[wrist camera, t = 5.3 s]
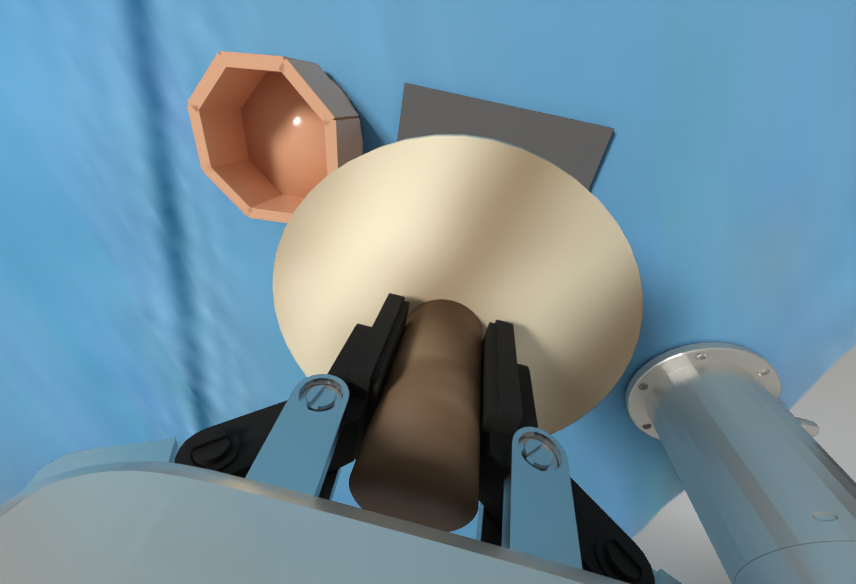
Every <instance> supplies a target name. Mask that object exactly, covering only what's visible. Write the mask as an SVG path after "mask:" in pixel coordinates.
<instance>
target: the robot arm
mask: <svg viewBox="0 0 856 584" xmlns="http://www.w3.org/2000/svg"><path fill="white" fill-rule="evenodd" d="M404 300H405V297H404V296H400V295H396V294H392V293H389V294H388V296H387V298H386V300H385V302H384V304H383V306H382V308H381V310H380V312H379V314H378V316H377V318H376V320H375V322H374V324H373V326H372V327H371V326H367V325H363V324H359V323H358V324H356V326H355V327H354V329H353V331H352V332H351V334H350V336H349V338H348V339H347V341H346V343H345V344H344V346H343V348H342V350H341V351H340V353H339V355H338V356H337V358H336V360H335V362H334V363H333V365H332V367H331V368H330V370H329V372H328V374H317V375H312V376H310V377H307V378H305V379H303V380H302V381H300V382H299V383H298V384H297V386H296V387H295V388H294V390H293V391H292V393H291V395H290V397H289V399H288V400H287V401H284V402H281V403H278V404H275V405H273V406H270V407H267V408H264V409H261V410H258V411H255V412H252V413H249V414H247V415H244V416H241V417H238V418H235V419H232V420H229V421H226V422H223V423H221V424H218V425H215V426H212V427H209V428H206V429H204V430H202V431H200V432H198V433H196V434H194V435H193V436H192V437H190V438H189V439H187V440H186V441H183V442H177V441H176V438H171V439H164V440H156V441H149V442H141V443H134V444H126V445H119V446H111V447H104V448H96V449H88V450H81V451H77V452H73V453H69V454H66V455H64V456H62V457H60V458H58V459H55V460H53V461H51V462H50V463H49V464H47V465H46V466H45V467H43V468H42V469H41V470H39V471H38V472H37V473H36V474H35V476H34V477H33V478H32V479H31V480H30V481H29V483H28V484H27V486H26V488H25V489H24V491H22V492H20V493H19V494H17V495H15V496H14V497H12V498H11V499H9V500H8V501H6V502H5V503H3V504H2V505H0V584H682V583H680V582H679V581H678V580H676V579H675V578H673V577H672V576H671V575H669V574H668V573H666V572H665V571H664V570H662V569H660V570H659V571H655V570H654V569H652V568H651V565H650V563H649V562H648V560H647V558H646V557H645V555H644V553H643V552H642V551H641V549H640V548H639V547H638V546H637V545H636V543H635V542H634V541H633V540H632V539H631V538H630V537H629V536H628V535H627V534H626V533H625V532H624V531H623V530H622V529H621V528H620V527H619V526H618V525H617V524H616V523H615V522H614V521H613V520H612V519H611V518H610V517H609V516H608V515H607V514H606V513H605V512H604V511H603V510H602V509H601V508H600V507H599V506H598V505H597V504H596V503H595V502H594V501H593V500H592V499H591V498H590V497H589V496H588V495H587V494H586V493H585V492H584V491H583V490H582V489H581V488H580V487H579V485H578V484H577V483H576V482H575V481H574V480H573V479H572V478H571V477H570V473H569V465H568V459H567V456H566V452H565V450H564V449H563V447H562V445H561V444H560V443H559V442H558V441H557V440H556V439H555V438H554V437H553V436H552V435H550V434H549V433H547V432H546V431H544V430H541V429H539V428H538V422H537V416H536V409H535V402H534V396H533V389H532V382H531V376H530V370H529V367H528V366H526V365H522V364H518V363H517V355H516V345H515V336H514V327H513V323H509V322H505V321H501V320H496V321H495V323H492V322H489V324H488V327H487V330H486V333H485V336H484V339H483V341H482V374H481V411H480V465H479V501H480V502H481V503H480V507H479V515H478V525H477V535H476V540H475V539H471V538H468V537H464V536H460V535H457V534H453V533H449V532H446V531H442V530H438V529H435V528H431V527H427V526H424V525H420V524H416V523H413V522H409V521H405V520H401V519H398V518H394V517H390V516H387V515H383V514H379V513H376V512H372V511H368V510H364V509H361V508H357V507H353V506H349V505H346V504H342V503H338V502H334V501H332V498H333V494H334V491H335V488H336V485H337V481H338V478H339V475H340V472H341V467H342V466H344V465H346V464H348V463H350V462H352V461H354V459H357V456H358V453H359V450H360V448H361V445H362V442H363V440H364V437H365V434H366V431H367V429H368V426H369V423H370V420H371V418H372V415H373V413H374V411H375V408H376V405H377V402H378V400H379V397H380V394H381V391H382V389H383V386H384V383H385V380H386V378H387V375H388V372H389V369H390V367H391V364H392V361H393V358H394V356H395V353H396V350H397V348H398V345H399V342H400V339H401V337H402V334H403V331H404V328H405V325H406V320H407V315H408V310H409V304H410V302H407V301H404ZM780 393H781V382H780V377H779V376H778V374H777V372H776V370H775V369H774V368H773V367H772V366H771V365H770V364H769V363H768V362H767V361H766V360H765V359H764V358H763V357H762V356H760V355H759V354H758V353H756V352H755V351H752V350H750V349H748V348H746V347H743V346H739V345H735V344H731V343H721V342H706V343H696V344H690V345H685V346H681V347H678V348H675V349H672V350H669V351H667V352H665V353H663V354H661V355H659V356H657V357H655V358H653V359H652V360H650V361H649V362H647V363H646V364H645V365H644V366H643V367H641V368H640V369H639V370H638V371H637V372H636V374H635V375H634V376H633V378H632V379H631V380H630V382H629V385H628V387H627V389H626V395H625V402H626V407H627V410H628V412H629V415H630V417H631V419H632V420H633V422H634V424H635V425H636V426H637V427H638V428H639V429H640V430H642V431H643V432H645V433H646V434H648V435H649V436H651V437H654V438H656V439H659V440H661V442H662V444H663V446H664V448H665V450H666V452H667V454H668V456H669V458H670V460H671V462H672V464H673V466H674V468H675V470H676V473H677V475H678V477H679V479H680V481H681V483H682V485H683V487H684V489H685V491H686V492H687V495H688V497H689V499H690V501H691V503H692V505H693V507H694V509H695V511H696V513H697V515H698V517H699V519H700V521H701V523H702V524H703V527H704V528H705V531H706V533H707V535H708V537H709V539H710V541H711V543H712V545H713V547H714V549H715V551H716V553H717V555H718V557H719V559H720V561H721V563H722V565H723V567H724V569H725V571H726V573H727V575H728V577H729V579H730V581H731V583H732V584H856V483H855V482H854V481H853V480H852V479H851V478H850V477H849V475H848V474H847V473H846V472H845V471H844V470H843V469H842V468H841V467H840V466H839V465H838V464H837V463H836V462H835V461H834V460H833V459H832V458H831V456H830V455H828V454H827V452H826V451H825V450H824V449H823V448H822V447H821V446H820V445H819V444H818V443H817V442H816V441H815V440H814V439H813V438H812V437H814V436H816V435H817V434H818V433H819V427H818V425H817V424H816V423H814V422H813V421H810V420H806V419H801V418H796V417H794V415H793V414H792V413H790V411H789V410H788V409H787V408H786V407H785V406H784V405H783V404H782V403H781V402H780V401H779V398H780Z"/></svg>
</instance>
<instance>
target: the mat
mask: <svg viewBox="0 0 856 584" xmlns="http://www.w3.org/2000/svg"><path fill="white" fill-rule="evenodd" d="M613 130H614V128H610V127H605V126H600V125H596V124H591V123H587V122H582V121H577V120H573V119H568V118H564V117H559V116H555V115H550V114H545V113H541V112H536V111H532V110H527V109H522V108H518V107H513V106H509V105H504V104H499V103H495V102H490V101H486V100H481V99H477V98H472V97H467V96H463V95H458V94H454V93H449V92H444V91H440V90H435V89H431V88H426V87H421V86H417V85H412V84H408V83H405V85H404V93H403V101H402V108H401V116H400V123H399V131H398V139H397V141H400V140H404V139H407V138H413V137H420V136H427V135H434V134H466V135H473V136H480V137H486V138H493V139H497V140H500V141H503V142H507V143H510V144H513V145H517V146H520V147H523V148H525V149H527V150H529V151H531V152H533V153H536V154H538V155H540V156H542V157H544V158H546V159H548V160H550V161H551V162H553V163H554V164H556V165H557V166H559V167H560V168H562V169H563V170H565V171H566V172H568V173H569V174H571V175H572V176H573V177H574V178H575V179H576V180H577V181H578V182H580V183H581V184H582V185H583V186H584V187H585V188H586V189H587V190H589V187H590V185H591V183H592V180H593V178H594V175H595V173H596V171H597V168H598V166H599V163H600V161H601V159H602V156H603V154H604V152H605V149H606V147H607V144H608V142H609V140H610V137H611V135H612V132H613Z"/></svg>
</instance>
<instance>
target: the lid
mask: <svg viewBox="0 0 856 584" xmlns="http://www.w3.org/2000/svg"><path fill="white" fill-rule="evenodd" d="M389 293H392V294H396V295H400V296H404V297H405V300H404V301H407V302H410V304H409V310H408V315H407V320H406V325H405V328H404V331H403V334H402V337H401V339H400V342H399V345H398V348H397V350H396V353H395V356H394V358H393V361H392V364H391V367H390V369H389V372H388V375H387V378H386V380H385V383H384V386H383V389H382V391H381V394H380V397H379V400H378V402H377V405H376V408H375V411H374V413H373V415H372V418H371V420H370V423H369V426H368V429H367V431H366V434H365V437H364V440H363V442H362V445H361V448H360V450H359V453H358V456H357V459H356V461H355V464H354V467H353V470H352V472H351V475H350V479H349V487H350V491H351V494H352V496H353V498H354V499H355V501H356V502H357V503H358V505H359V506H360V507H361V508H362V509H364V510H368V511H372V512H376V513H379V514H383V515H387V516H390V517H394V518H398V519H401V520H405V521H409V522H413V523H416V524H420V525H424V526H427V527H431V528H435V529H438V530H442V531H446V532H450V531H454V530H457V529H460V528H462V527H464V526H465V525H467V524H468V523H470V522H471V521H472V520H473V519H474V517H475V515H476V514H477V511H478V504H479V465H480V411H481V374H482V341H483V339H484V336H485V333H486V330H487V327H488V324H489V322H492V323H495V321H496V320H501V321H505V322H509V323H513V327H514V336H515V345H516V355H517V363H518V364H522V365H526V366H528V367H529V370H530V376H531V382H532V389H533V396H534V402H535V409H536V416H537V422H538V428H539V429H541V430H544V431H546V432H547V433H549V434H550V435H551V434H553V433H555V432H557V431H560V430H562V429H564V428H565V427H567V426H569V425H570V424H572V423H574V422H575V421H577V420H579V419H580V418H582V417H583V416H584V415H585V414H587V413H588V412H589V411H591V410H592V409H593V408H594V407H596V406H597V405H598V404H599V403H600V402H601V401H602V400H603V399H604V398H605V397H606V396H607V395H608V394H609V393H610V391H611V390H612V389H613V387H614V386H615V385H616V383H617V382H618V381H619V379H620V378H621V377H622V375H623V373H624V371H625V370H626V368H627V366H628V364H629V362H630V360H631V359H632V356H633V353H634V350H635V348H636V345H637V342H638V339H639V334H640V329H641V323H642V318H643V292H642V286H641V280H640V274H639V269H638V266H637V263H636V261H635V258H634V255H633V252H632V249H631V247H630V245H629V243H628V241H627V239H626V238H625V236H624V234H623V232H622V230H621V229H620V227H619V225H618V223H617V222H616V221H615V219H614V218H613V217H612V216H611V214H610V213H609V212H608V211H607V209H606V208H605V207H604V206H603V204H602V203H601V202H600V201H599V200H598V199H597V198H596V197H595V196H594V195H593V194H592V193H591V192H589V191H588V190H587V189H586V188H585V187H584V186H583V185H582V184H581V183H580V182H578V181H577V180H576V179H575V178H574V177H573V176H572V175H571V174H569V173H568V172H566V171H565V170H563V169H562V168H560V167H559V166H557V165H556V164H554V163H553V162H551V161H550V160H548V159H546V158H544V157H542V156H540V155H538V154H536V153H533V152H531V151H529V150H527V149H525V148H523V147H520V146H517V145H513V144H510V143H507V142H503V141H500V140H497V139H493V138H486V137H480V136H473V135H466V134H434V135H427V136H420V137H413V138H407V139H404V140H400V141H397V142H394V143H390V144H387V145H383V146H381V147H379V148H377V149H374V150H372V151H370V152H368V153H366V154H364V155H362V156H359V157H357V158H355V159H353V160H351V161H349V162H347V163H346V164H344V165H343V166H341V167H340V168H338V169H337V170H335V171H334V172H332V173H331V174H329V175H328V176H326V177H325V178H324V179H323V180H322V181H321V182H320V183H319V184H318V185H317V186H316V187H315V188H313V189H312V190H311V191H310V192H309V193H308V194H307V196H306V197H305V198H304V200H303V201H302V202H301V203H300V205H299V206H298V207H297V209H296V210H295V211H294V213H293V215H292V217H291V218H290V220H289V222H288V224H287V226H286V228H285V230H284V232H283V234H282V237H281V240H280V243H279V246H278V249H277V252H276V258H275V264H274V269H273V297H274V305H275V311H276V315H277V319H278V322H279V326H280V329H281V332H282V334H283V337H284V339H285V341H286V344H287V346H288V348H289V350H290V351H291V353H292V355H293V357H294V359H295V360H296V362H297V363H298V365H299V366H300V368H301V369H302V370H303V372H304V373H305V375H306V376H307V377H310V376H312V375H317V374H328V372H329V370H330V368H331V367H332V365H333V363H334V362H335V360H336V358H337V356H338V355H339V353H340V351H341V350H342V348H343V346H344V344H345V343H346V341H347V339H348V338H349V336H350V334H351V332H352V331H353V329H354V327H355V326H356V324H358V323H359V324H363V325H367V326H371V327H372V326H373V324H374V322H375V320H376V318H377V316H378V314H379V312H380V310H381V308H382V306H383V304H384V302H385V300H386V298H387V296H388V294H389Z"/></svg>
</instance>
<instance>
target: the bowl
mask: <svg viewBox="0 0 856 584" xmlns="http://www.w3.org/2000/svg"><path fill="white" fill-rule="evenodd" d="M188 103H189V104H190V105H187V106H188V111H189V115H190V120H191V124H192V128H193V133H194V137H195V141H196V146H197V150H198V155H199V159H200V163H201V168H202V170H204V173H205V174H206V175H207V176H208V177H209V178H210V179H211V180H212V181H213V182H214V183H215V184H216V185H217V186H218V187H219V188H220V189H221V190H222V191H223V192H224V193H225V194H226V195H227V196H228V197H229V198H230V200H231V201H232V202H233V203H234V204H235V205H236V206H237V207H238V208H239V209H240V210H241V211H242V212H243V213H244V214H245V215H246V216H249V218H255V219H262V220H269V221H276V222H283V223H288V222H289V220H290V218H291V217H292V215H293V213H294V211H295V210H296V209H297V207H298V206H299V205H300V203H301V202H302V201H303V200H304V198H305V197H306V196H307V194H308V193H309V192H310V191H311V190H312V189H313V188H315V187H316V186H317V185H318V184H319V183H320V182H321V181H322V180H323V179H324V178H325V177H326V176H328V175H329V174H331V173H332V172H334V171H335V170H337V169H338V168H340V167H341V166H343V165H344V164H346V163H347V162H349V161H351V160H353V159H355V158H357V157H359V156H362V155H363V153H364V143H363V134H362V128H361V125H360V118H358V116H359V115H358V114H357V112H356V111H355V109H354V107H353V105H352V103H351V101H350V100H349V98H348V97H347V95H346V94H345V93H344V91H343V90H342V89H341V88H340V87H339V86H338V84H337V83H336V82H334V81H333V80H332V79H331V78H330V77H329V76H327V75H326V74H325V72H324V71H323V70H322V69H321V67H320V66H319V65H316V64H315V63H311V62H306V61H302V60H297V59H293V58H288V57H283V56H272V55H259V54H247V53H235V52H223V51H220V53H219V52H218V53H217V55H216V56H215V58H214V60H213V61H212V63H211V65H210V66H209V68H208V69H207V71H206V73H205V74H204V76H203V78H202V79H201V81H200V82H199V84H198V86H197V87H196V89H195V91H194V92H193V94H192V96H191V97H190V99H189V100H188Z"/></svg>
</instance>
